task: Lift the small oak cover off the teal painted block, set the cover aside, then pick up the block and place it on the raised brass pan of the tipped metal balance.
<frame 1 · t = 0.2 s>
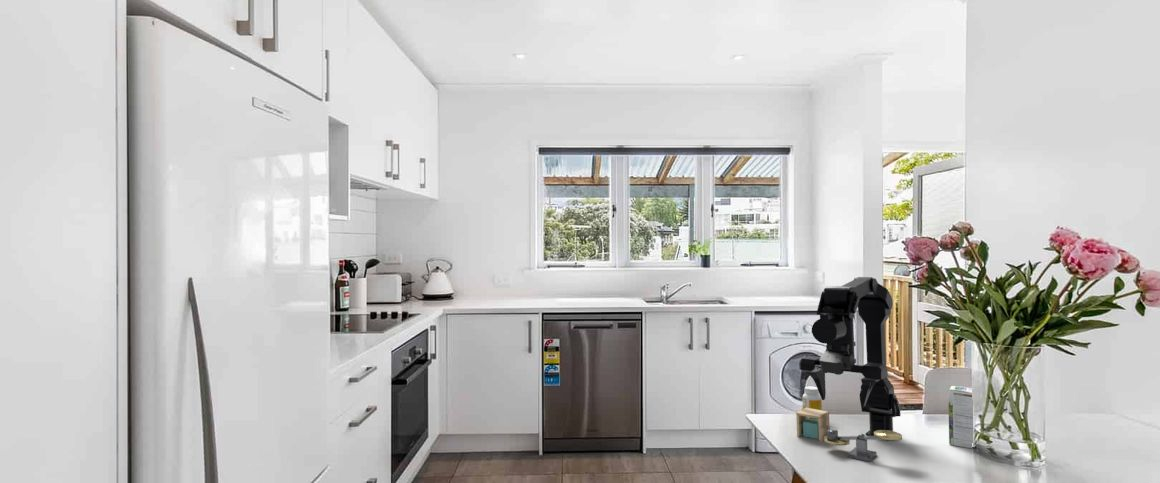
hand: (843, 402, 134), 14 cm above the table, tool pointing down, fingers open, 9 cm apart
block: (813, 435, 154), on the table
balance: (862, 456, 138), on the table
supplement bottle: (812, 420, 169), on the table
cover: (813, 435, 154), on the table
syrup box: (963, 445, 145), on the table
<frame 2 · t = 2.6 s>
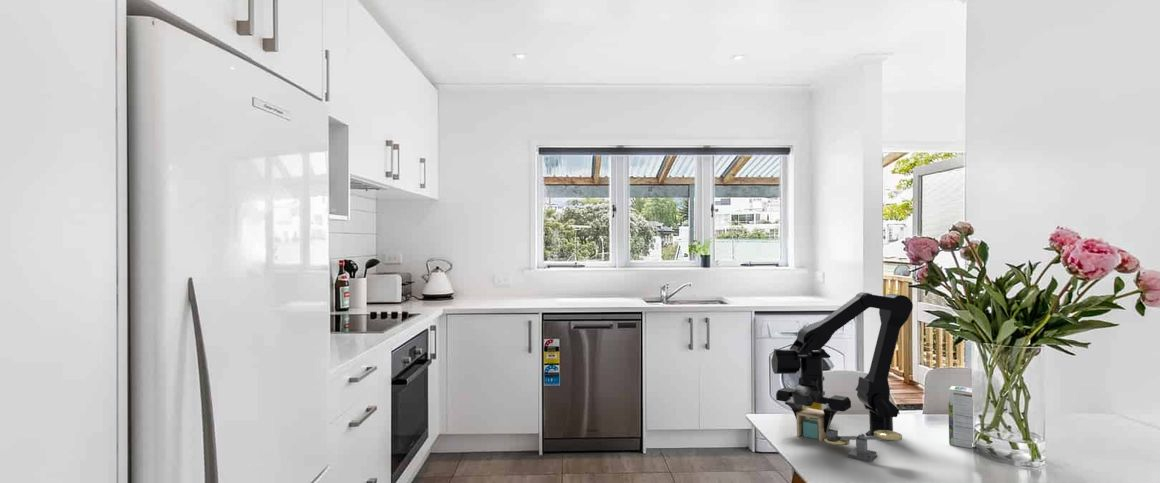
hand: (813, 429, 154), 2 cm above the table, tool pointing down, fingers closed on cover, 6 cm apart
cover: (813, 435, 154), on the table, touching gripper
everything else where it was.
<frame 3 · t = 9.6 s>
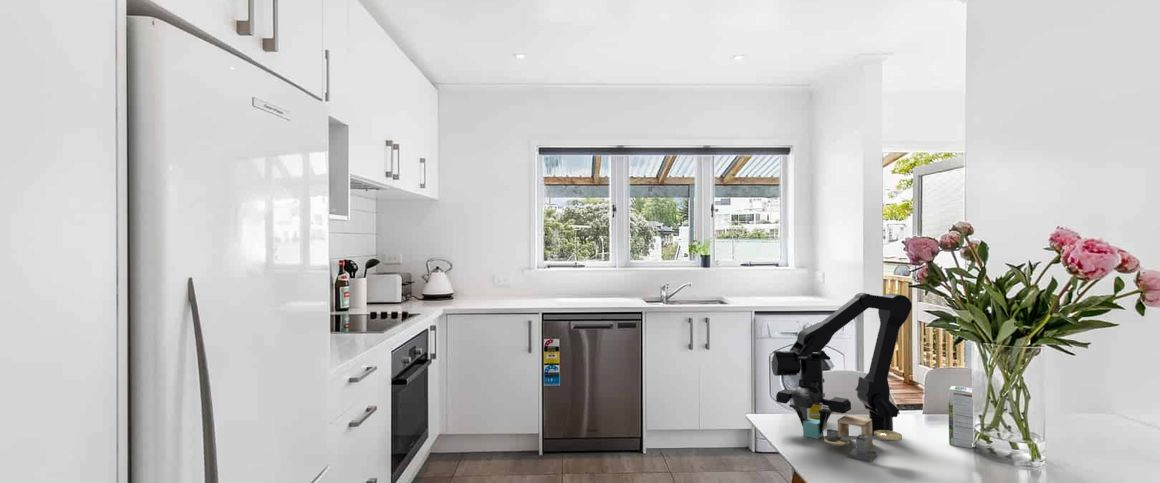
hand: (813, 431, 154), 1 cm above the table, tool pointing down, fingers closed on block, 4 cm apart
block: (813, 435, 154), on the table, touching gripper
cover: (855, 444, 147), on the table
everything else where it was.
when the fingers open (9 cm above the table, at t = 12.5 s): block drops 2 cm, resting on balance.
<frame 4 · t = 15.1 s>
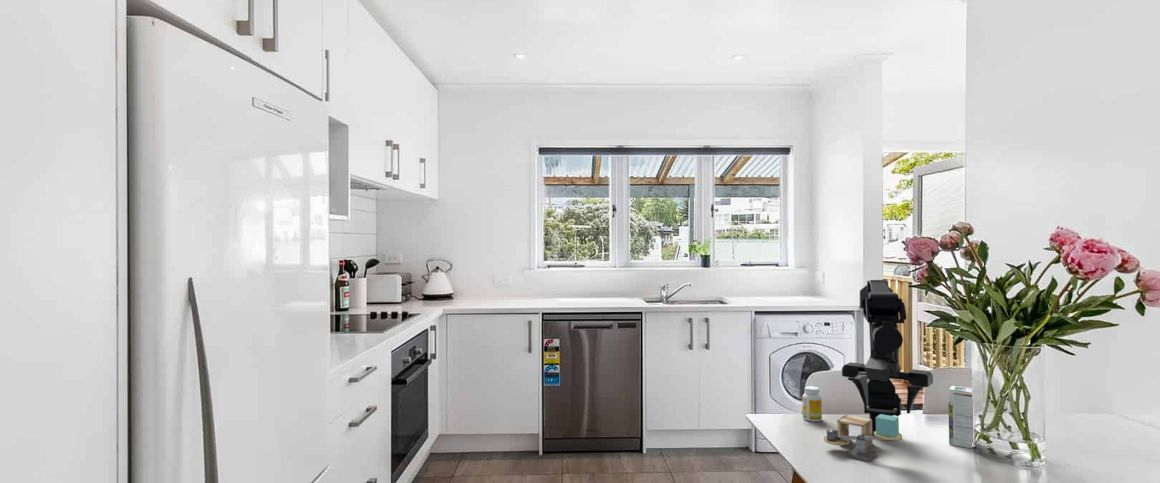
hand: (887, 409, 134), 12 cm above the table, tool pointing down, fingers open, 9 cm apart
block: (887, 434, 134), point 7 cm above the table, touching balance
everything else where it was.
at the end: block 0.1 cm from the target spot on the balance, point 6.7 cm above the balance's base; cover moved 11.0 cm from its start; the gripper is holding nothing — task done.
